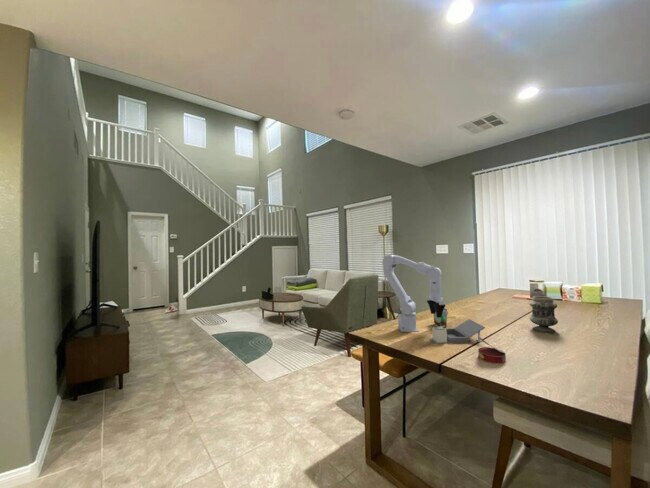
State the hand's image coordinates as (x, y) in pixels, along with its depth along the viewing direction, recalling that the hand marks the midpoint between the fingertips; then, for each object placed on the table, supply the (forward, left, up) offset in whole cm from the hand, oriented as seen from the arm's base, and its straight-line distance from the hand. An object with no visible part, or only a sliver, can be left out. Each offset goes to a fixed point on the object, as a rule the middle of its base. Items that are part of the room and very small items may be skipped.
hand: (436, 315), depth 148 cm
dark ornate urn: (+59, +1, -10) cm, 60 cm away
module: (-3, -11, -10) cm, 15 cm away
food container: (+9, +13, -10) cm, 19 cm away
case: (+10, -7, -10) cm, 15 cm away
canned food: (+10, -32, -10) cm, 35 cm away
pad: (-4, -11, -10) cm, 15 cm away
